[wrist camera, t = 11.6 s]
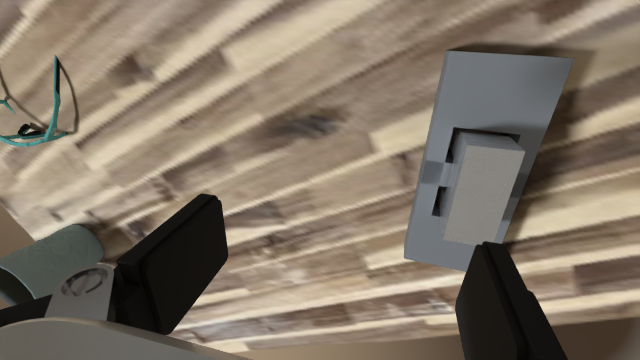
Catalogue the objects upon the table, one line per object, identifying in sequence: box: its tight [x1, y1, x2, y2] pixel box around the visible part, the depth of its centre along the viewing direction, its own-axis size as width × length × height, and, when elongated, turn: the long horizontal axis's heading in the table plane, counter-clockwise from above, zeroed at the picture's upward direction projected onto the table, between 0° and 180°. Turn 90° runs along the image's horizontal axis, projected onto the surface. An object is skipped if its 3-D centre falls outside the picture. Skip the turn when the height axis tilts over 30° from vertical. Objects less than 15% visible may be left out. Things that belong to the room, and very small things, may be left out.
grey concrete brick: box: [438, 128, 525, 246], centre depth 28 cm, size 9×4×8 cm, turn 178°
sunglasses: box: [0, 55, 66, 147], centre depth 42 cm, size 14×15×5 cm
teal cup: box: [0, 224, 104, 306], centre depth 51 cm, size 10×10×12 cm
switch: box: [404, 50, 575, 272], centre depth 29 cm, size 22×9×3 cm, turn 177°
